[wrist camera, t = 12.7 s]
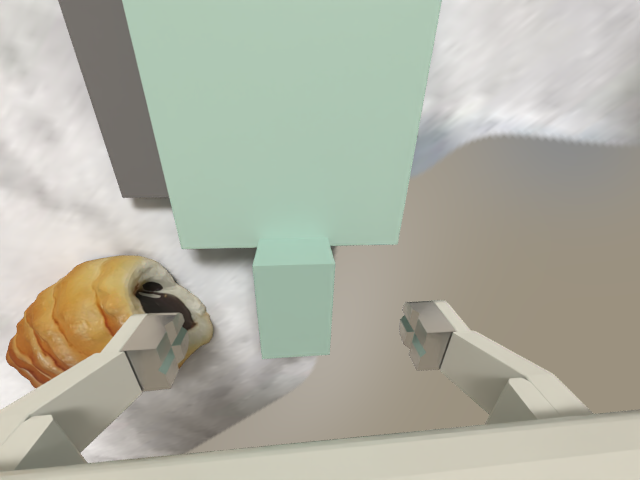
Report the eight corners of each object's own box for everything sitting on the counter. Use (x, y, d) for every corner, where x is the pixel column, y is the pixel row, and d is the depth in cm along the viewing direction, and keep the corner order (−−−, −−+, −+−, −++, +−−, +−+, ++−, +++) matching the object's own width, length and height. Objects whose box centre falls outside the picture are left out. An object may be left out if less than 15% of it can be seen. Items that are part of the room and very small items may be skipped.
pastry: (105, 381, 16) (54, 452, 13) (-2, 311, 13) (-105, 379, 10) (228, 318, 15) (208, 378, 11) (139, 227, 12) (77, 271, 9)
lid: (460, -174, 7) (563, -351, 4) (379, 306, 15) (399, 349, 12) (83, -233, 6) (-82, -505, 3) (204, 314, 14) (183, 364, 11)
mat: (380, -67, 8) (385, -79, 8) (356, 192, 12) (359, 196, 11) (39, -101, 7) (19, -119, 7) (130, 193, 11) (122, 197, 10)
